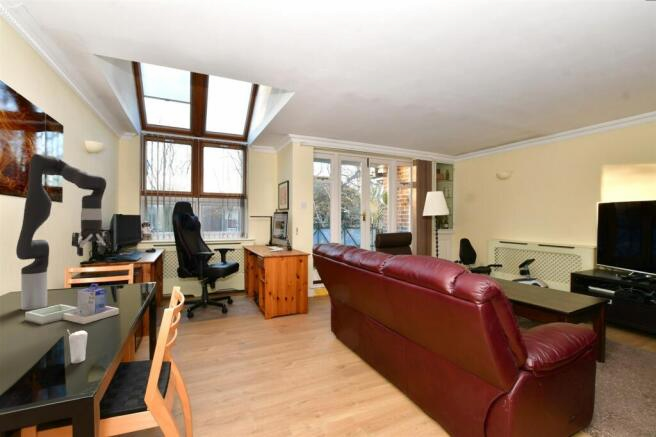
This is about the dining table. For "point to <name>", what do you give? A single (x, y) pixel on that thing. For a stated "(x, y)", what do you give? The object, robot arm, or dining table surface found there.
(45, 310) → the tray
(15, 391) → the dining table surface
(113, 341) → the dining table surface
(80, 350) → the milkshake
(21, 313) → the dining table surface
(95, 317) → the white square frame
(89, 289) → the ink cartridge box
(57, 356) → the dining table surface
